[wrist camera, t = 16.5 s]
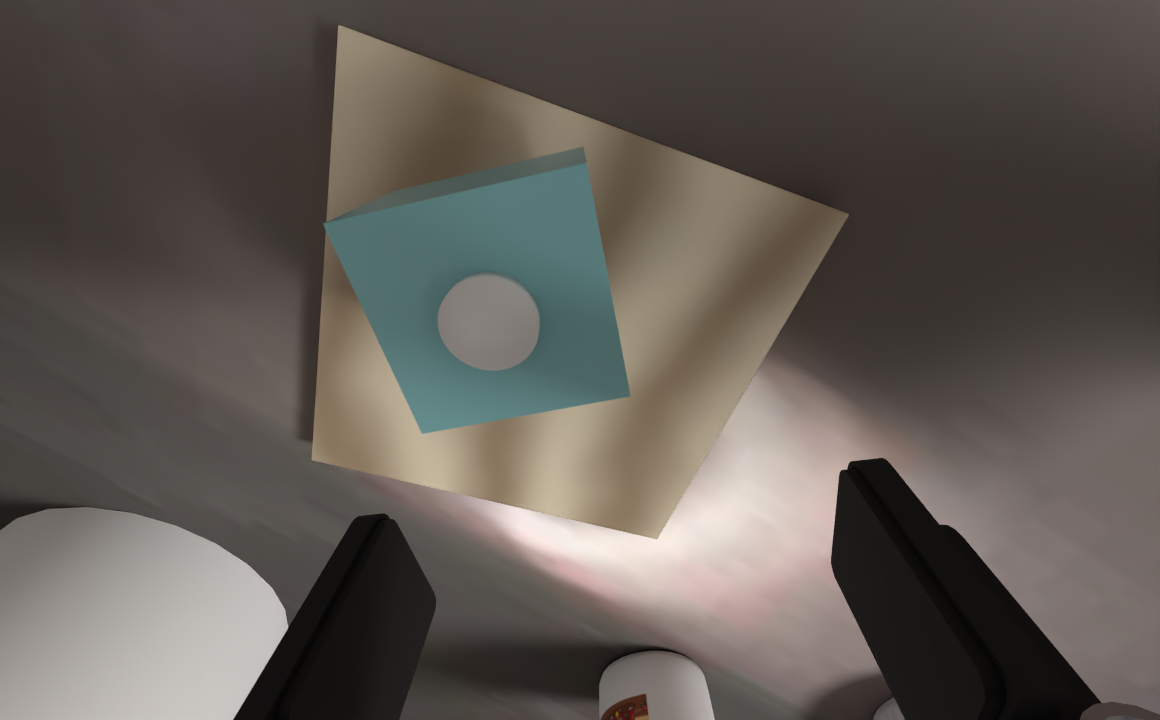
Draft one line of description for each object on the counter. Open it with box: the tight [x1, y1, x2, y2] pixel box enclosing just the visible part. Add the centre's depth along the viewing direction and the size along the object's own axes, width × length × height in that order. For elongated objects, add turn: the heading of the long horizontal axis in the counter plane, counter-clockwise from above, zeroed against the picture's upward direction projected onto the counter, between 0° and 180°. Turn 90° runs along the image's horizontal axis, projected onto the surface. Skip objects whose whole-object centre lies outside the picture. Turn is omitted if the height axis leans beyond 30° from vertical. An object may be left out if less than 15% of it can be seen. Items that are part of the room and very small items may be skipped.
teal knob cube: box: [323, 147, 631, 434], centre depth 13 cm, size 6×6×5 cm
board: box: [312, 25, 849, 539], centre depth 20 cm, size 18×18×1 cm
